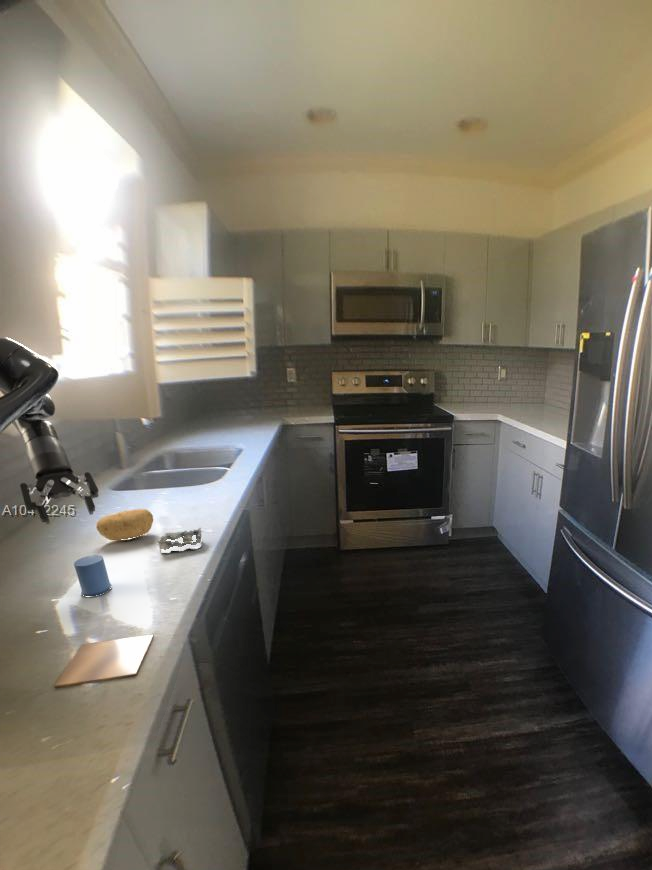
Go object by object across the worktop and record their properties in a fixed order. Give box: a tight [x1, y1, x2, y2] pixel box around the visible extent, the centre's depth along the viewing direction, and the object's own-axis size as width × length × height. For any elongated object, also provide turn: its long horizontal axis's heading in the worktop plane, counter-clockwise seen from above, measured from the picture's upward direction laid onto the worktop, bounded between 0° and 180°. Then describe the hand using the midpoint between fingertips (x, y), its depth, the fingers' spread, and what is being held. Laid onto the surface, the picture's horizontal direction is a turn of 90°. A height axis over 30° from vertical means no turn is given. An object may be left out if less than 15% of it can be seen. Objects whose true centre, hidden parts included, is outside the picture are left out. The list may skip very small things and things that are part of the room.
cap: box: [73, 554, 113, 596], centre depth 100 cm, size 6×6×8 cm
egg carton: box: [157, 527, 203, 550], centre depth 121 cm, size 11×8×4 cm
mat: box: [54, 634, 155, 689], centre depth 78 cm, size 12×11×1 cm
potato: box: [95, 508, 154, 541], centre depth 127 cm, size 10×14×8 cm
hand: (70, 517), depth 104 cm, fingers open, 8 cm apart
